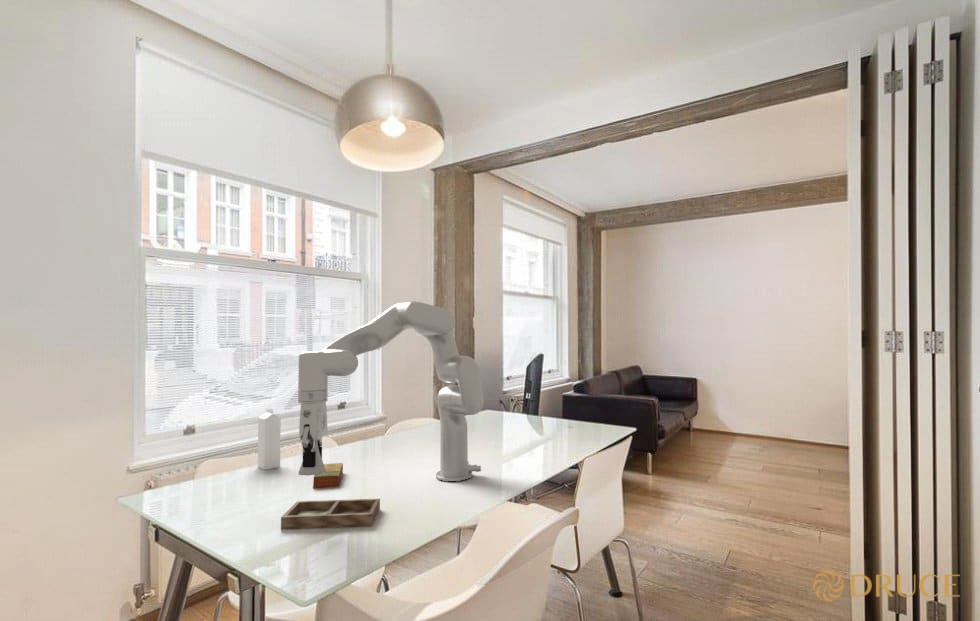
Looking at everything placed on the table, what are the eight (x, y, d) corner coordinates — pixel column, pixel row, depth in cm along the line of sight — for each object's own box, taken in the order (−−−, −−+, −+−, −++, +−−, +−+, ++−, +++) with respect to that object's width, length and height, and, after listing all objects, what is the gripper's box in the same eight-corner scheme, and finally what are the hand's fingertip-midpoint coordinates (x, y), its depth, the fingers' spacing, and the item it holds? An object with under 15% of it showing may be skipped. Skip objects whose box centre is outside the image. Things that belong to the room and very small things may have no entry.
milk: (264, 470, 179) (264, 410, 180) (257, 467, 183) (258, 409, 184) (280, 466, 183) (280, 408, 184) (273, 464, 187) (274, 407, 188)
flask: (302, 469, 133) (302, 433, 134) (329, 468, 134) (329, 432, 134) (294, 477, 126) (294, 438, 126) (322, 476, 126) (322, 437, 127)
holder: (379, 509, 136) (379, 498, 136) (371, 526, 124) (371, 514, 124) (297, 512, 135) (297, 501, 135) (280, 529, 123) (281, 517, 123)
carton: (343, 474, 173) (343, 462, 174) (339, 487, 158) (339, 474, 158) (319, 475, 172) (319, 463, 172) (312, 489, 156) (312, 476, 156)
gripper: (317, 400, 123) (317, 472, 122) (335, 392, 140) (334, 456, 139) (287, 400, 122) (286, 473, 121) (309, 393, 139) (308, 456, 138)
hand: (312, 463), depth 130 cm, fingers closed on flask, 4 cm apart
